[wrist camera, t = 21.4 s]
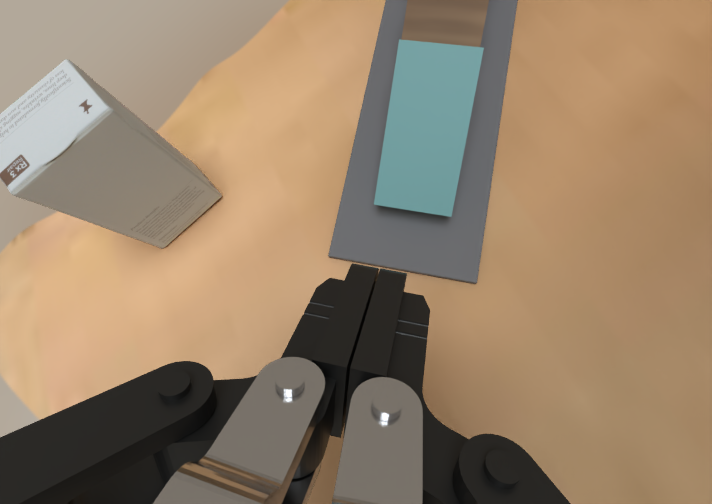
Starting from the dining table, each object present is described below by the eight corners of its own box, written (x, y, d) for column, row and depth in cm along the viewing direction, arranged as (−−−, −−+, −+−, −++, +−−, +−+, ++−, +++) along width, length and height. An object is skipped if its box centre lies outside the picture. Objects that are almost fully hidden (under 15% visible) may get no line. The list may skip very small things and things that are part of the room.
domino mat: (475, 284, 26) (476, 282, 26) (329, 257, 28) (328, 255, 27) (521, -35, 32) (523, -41, 31) (396, -44, 33) (397, -49, 33)
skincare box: (192, 161, 31) (65, 46, 19) (227, 199, 30) (115, 103, 18) (130, 214, 30) (-40, 131, 19) (164, 256, 29) (6, 195, 18)
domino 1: (461, 143, 26) (493, -25, 24) (387, 133, 27) (412, -31, 25) (459, 146, 28) (488, -10, 26) (389, 136, 29) (413, -16, 27)
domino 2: (451, 216, 25) (483, 47, 23) (373, 204, 26) (399, 39, 24) (449, 214, 27) (479, 57, 25) (377, 203, 28) (401, 50, 26)
